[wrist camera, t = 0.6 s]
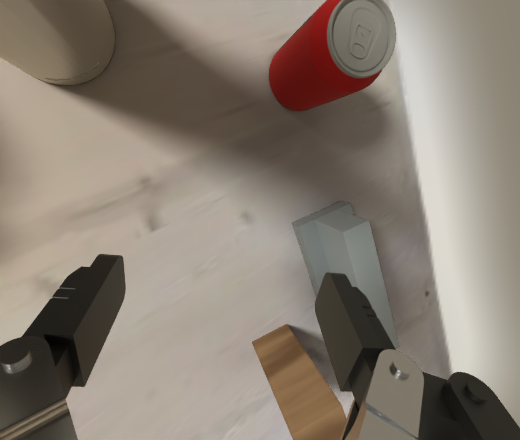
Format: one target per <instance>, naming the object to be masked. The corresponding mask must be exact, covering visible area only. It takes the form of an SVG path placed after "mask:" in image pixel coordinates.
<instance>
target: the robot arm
mask: <svg viewBox="0 0 520 440" xmlns="http://www.w3.org/2000/svg"><path fill="white" fill-rule="evenodd" d="M114 46H115V31H114V26H113V22H112V18H111V16H110V14H109V11H108V9H107V7H106V5H105V2H104V0H0V58H2V59H4V60H5V61H7V62H9V63H10V64H12V65H14V66H16V67H17V68H19V69H21V70H23V71H24V72H26V73H28V74H29V75H31V76H33V77H35V78H38V79H40V80H42V81H45V82H48V83H53V84H57V85H76V84H81V83H85V82H87V81H89V80H92V79H94V78H95V77H96V76H98V75H99V74H100V73H102V71H103V70H104V69H105V68H106V66H107V65H108V64H109V62H110V59H111V57H112V55H113V51H114ZM125 288H126V287H125V274H124V262H123V257H122V256H120V255H107V254H99V255H98V256H97V257H96V259H95V260H94V262H93V263H92V265H91V266H90V267H80V268H79V269H77V270H76V271H74V272H73V273H71V274H70V275H69V276H68V277H67V278H66V279H65V281H64V282H63V283H62V285H61V286H60V288H59V289H58V290H57V291H56V292H55V294H54V295H53V298H52V299H50V300H49V302H48V303H47V304H46V306H45V307H44V308H43V310H42V311H41V312H40V313H39V315H38V316H37V317H36V319H35V320H34V321H33V323H32V324H31V325H30V327H29V328H28V329H27V331H26V332H25V333H24V335H23V336H22V337H20V338H17V339H13V340H11V341H9V342H7V343H5V344H3V345H1V346H0V440H78V439H77V435H76V432H75V429H74V425H73V422H72V419H71V415H70V412H69V409H68V406H67V403H66V400H65V399H66V397H67V395H68V393H69V391H70V389H71V387H72V386H76V387H85V385H86V382H87V380H88V378H89V376H90V374H91V371H92V369H93V367H94V365H95V363H96V360H97V358H98V356H99V354H100V352H101V349H102V347H103V345H104V343H105V341H106V338H107V336H108V334H109V332H110V329H111V327H112V325H113V323H114V321H115V318H116V316H117V314H118V312H119V310H120V307H121V305H122V303H123V300H124V296H125ZM315 312H316V316H317V319H318V322H319V325H320V328H321V332H322V335H323V338H324V341H325V344H326V347H327V350H328V353H329V356H330V360H331V363H332V366H333V369H334V372H335V375H336V378H337V381H338V385H339V388H340V391H352V392H353V395H354V398H355V399H354V401H353V403H352V405H351V408H350V411H349V414H348V417H347V420H346V423H345V426H344V429H343V432H342V435H341V438H340V440H520V428H519V426H518V425H517V424H516V422H515V421H514V419H513V418H512V417H511V415H510V414H509V413H508V411H507V410H506V409H505V407H504V406H503V404H502V403H501V402H500V400H499V399H498V397H497V396H496V395H495V394H494V392H493V391H492V390H491V389H490V388H489V387H488V386H487V385H486V384H485V383H483V382H482V381H481V380H479V379H478V378H476V377H474V376H472V375H470V374H467V373H463V372H456V373H453V374H452V375H451V377H450V378H449V379H448V380H445V379H442V378H439V377H436V376H433V375H430V374H427V373H424V372H422V371H421V369H420V368H419V366H418V365H417V364H416V363H415V362H414V361H413V360H412V359H411V358H410V357H408V356H407V355H405V354H404V353H402V352H399V351H397V350H396V349H395V347H394V345H393V343H392V342H391V340H390V338H389V336H388V334H387V333H386V331H385V329H384V327H383V325H382V324H381V322H380V320H379V318H377V315H376V313H375V311H374V309H372V306H371V304H370V302H369V300H368V298H367V297H366V295H364V294H363V293H362V292H361V291H360V290H359V289H358V288H357V287H352V285H351V283H350V281H349V279H348V277H347V276H346V275H345V274H342V273H329V272H327V273H325V275H324V277H323V280H322V283H321V286H320V289H319V292H318V295H317V298H316V302H315Z"/></svg>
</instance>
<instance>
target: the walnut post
mask: <svg viewBox="0 0 520 440" xmlns="http://www.w3.org/2000/svg"><path fill="white" fill-rule="evenodd" d="M252 344H253V346H254V348H255V351H256V353H257V356H258V358H259V360H260V363H261V365H262V367H263V370H264V372H265V374H266V377H267V379H268V382H269V384H270V386H271V389H272V391H273V393H274V396H275V398H276V400H277V403H278V405H279V408H280V410H281V412H282V415H283V417H284V419H285V422H286V424H287V426H288V429H289V431H290V434H291V436H292V438H293V440H340V438H341V435H342V432H343V429H344V426H345V423H346V420H347V419H346V416H345V413H344V410H343V408H342V405H341V403H340V402H339V400H338V399H337V397H336V396H335V394H334V393H333V391H332V390H331V388H330V387H329V386H328V384H327V383H326V381H325V380H324V378H323V377H322V375H321V374H320V372H319V371H318V369H317V368H316V366H315V365H314V363H313V362H312V361H311V359H310V358H309V356H308V355H307V353H306V352H305V350H304V349H303V347H302V346H301V344H300V343H299V341H298V340H297V338H296V337H295V336H294V334H293V333H292V331H291V330H290V328H289V327H288V325H287V324H286V325H284V326H282V327H280V328H278V329H276V330H274V331H272V332H270V333H268V334H266V335H265V336H263V337H261V338H259V339H257V340H255V341H253V342H252Z"/></svg>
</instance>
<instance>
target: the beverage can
mask: <svg viewBox="0 0 520 440" xmlns="http://www.w3.org/2000/svg"><path fill="white" fill-rule="evenodd" d="M395 41H396V28H395V22H394V18H393V16H392V13H391V11H390V9H389V7H388V6H387V5H386V3H385V2H384V1H383V0H327V1H326V2H325V3H324V4H323V5H322V6H321V7H320V8H319V9H318V10H317V11H316V12H315V13H314V14H313V15H312V16H311V17H310V18H309V19H308V20H307V21H306V22H305V23H304V24H303V25H302V26H301V27H300V28H299V29H298V30H297V31H296V32H295V33H294V34H293V35H292V36H291V37H290V38H289V40H288V41H287V42H286V43H285V44H284V45H283V46H282V47H281V48H280V49H279V50H278V52H277V53H276V54H275V56H274V57H273V59H272V62H271V64H270V69H269V82H270V87H271V90H272V92H273V94H274V96H275V97H276V99H277V100H278V101H279V102H280V103H281V104H282V105H283V106H285V107H287V108H289V109H291V110H295V111H303V110H307V109H310V108H313V107H316V106H319V105H322V104H325V103H328V102H331V101H333V100H336V99H339V98H341V97H344V96H347V95H349V94H352V93H354V92H357V91H360V90H362V89H364V88H366V87H367V86H369V85H370V84H371V83H372V82H374V80H375V79H376V78H377V77H378V76H379V74H380V73H381V71H382V69H383V68H384V67H385V66H386V64H387V63H388V61H389V60H390V58H391V56H392V53H393V51H394V47H395Z"/></svg>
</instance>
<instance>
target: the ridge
mask: <svg viewBox="0 0 520 440" xmlns="http://www.w3.org/2000/svg"><path fill="white" fill-rule="evenodd" d="M292 224H293V227H294V230H295V233H296V236H297V239H298V242H299V245H300V248H301V251H302V254H303V257H304V260H305V263H306V266H307V269H308V272H309V275H310V278H311V281H312V284H313V288H314V291H315V294H316V297H317V295H318V292H319V289H320V286H321V283H322V280H323V277H324V275H325V273H327V272H329V273H342V274H345V275H346V276H347V277H348V279H349V281H350V283H351V285H352V287H357V288H358V289H359V290H360V291H361V292H362V293H363V294H364V295H366V297H367V298H368V300H369V302H370V304H371V306H372V309H374V311H375V313H376V315H377V318H379V320H380V322H381V324H382V325H383V327H384V329H385V331H386V333H387V334H388V336H389V338H390V340H391V342H392V343H393V345H394V347H395V349H396V348H398V347H399V342H398V338H397V333H396V329H395V325H394V321H393V317H392V313H391V309H390V305H389V301H388V296H387V292H386V288H385V284H384V280H383V276H382V272H381V268H380V264H379V259H378V255H377V251H376V247H375V243H374V239H373V235H372V231H371V226H370V222H369V220H367V219H364V218H361V217H357V216H354V214H353V210H352V206H351V203H348V202H344V201H340V202H338V203H336V204H333V205H331V206H329V207H327V208H324V209H322V210H320V211H318V212H315V213H313V214H311V215H309V216H307V217H304V218H302V219H300V220H298V221H295V222H293V223H292Z"/></svg>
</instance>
